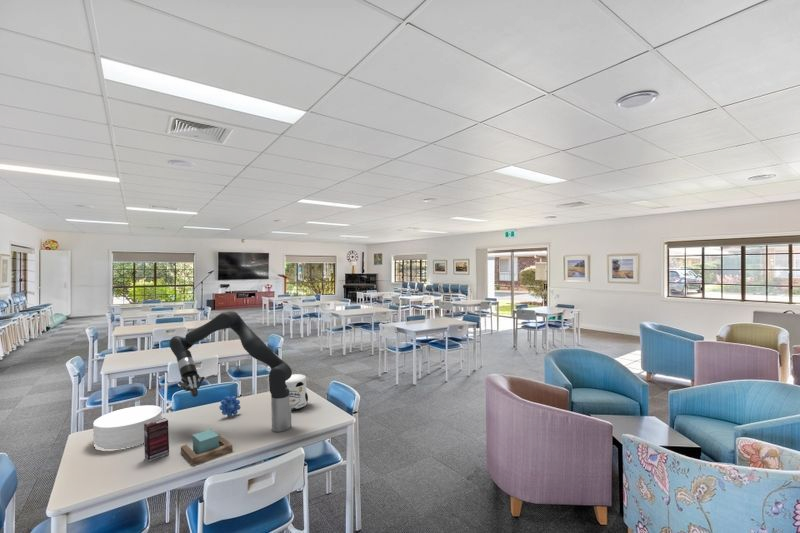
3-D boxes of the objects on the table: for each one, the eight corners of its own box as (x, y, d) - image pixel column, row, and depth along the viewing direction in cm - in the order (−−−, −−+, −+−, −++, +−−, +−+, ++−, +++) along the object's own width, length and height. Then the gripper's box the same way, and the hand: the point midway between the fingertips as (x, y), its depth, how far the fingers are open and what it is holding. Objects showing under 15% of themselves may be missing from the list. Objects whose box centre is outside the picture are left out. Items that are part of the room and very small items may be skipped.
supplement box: (165, 451, 172) (165, 417, 172) (169, 454, 169) (168, 419, 169) (143, 458, 165) (143, 423, 165) (147, 462, 162) (147, 426, 162)
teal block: (211, 445, 177) (211, 429, 177) (218, 452, 170) (218, 435, 170) (193, 452, 171) (192, 434, 171) (200, 459, 164) (199, 441, 164)
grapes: (222, 421, 205) (221, 400, 205) (218, 418, 210) (217, 397, 210) (243, 415, 213) (243, 394, 213) (238, 412, 218) (238, 392, 218)
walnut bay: (219, 440, 182) (219, 434, 182) (232, 451, 171) (232, 444, 171) (180, 452, 170) (180, 446, 170) (192, 465, 159) (192, 458, 159)
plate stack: (146, 422, 206) (145, 402, 206) (172, 433, 192) (172, 411, 192) (83, 443, 182) (83, 420, 182) (108, 457, 168) (108, 432, 168)
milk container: (286, 415, 212) (286, 384, 212) (273, 407, 225) (273, 377, 225) (313, 407, 224) (312, 377, 224) (299, 400, 237) (299, 372, 237)
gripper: (174, 366, 190) (182, 395, 182) (202, 361, 200) (210, 388, 191) (171, 374, 194) (179, 403, 185) (199, 369, 203) (207, 396, 195)
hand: (195, 395), depth 188 cm, fingers closed
